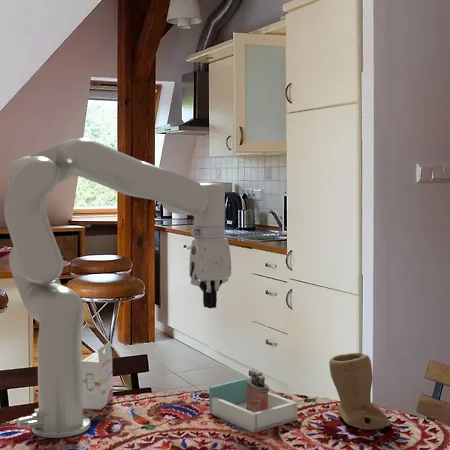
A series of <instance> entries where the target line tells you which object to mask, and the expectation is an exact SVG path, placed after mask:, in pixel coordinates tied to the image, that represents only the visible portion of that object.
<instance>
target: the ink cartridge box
mask: <svg viewBox="0 0 450 450" xmlns="http://www.w3.org/2000/svg"><path fill="white" fill-rule="evenodd" d="M105 350H106V351H105ZM104 351H105V352H104ZM112 352H113V351H112V342H111V341H109V342H107V343H105V344H103V346H101V347H100V348H98V349H97V352H93V353H91V354H90V355H89V356H87V357H86V358H84V359H82V379H83V410H85V409H86V410H102V409H103V408H105V406H107V405H108V404H109V403H110V402H111V401H112V400H113V399H114V386H113V385H114V384H113V383H114V380H113V379H114V378H113V376H114V375H113V353H112Z"/></svg>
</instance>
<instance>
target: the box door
mask: <svg viewBox="0 0 450 450" xmlns="http://www.w3.org/2000/svg"><path fill="white" fill-rule="evenodd" d="M247 379H252V377H250V376H247V377H244V378H240V379H237V380H236V379H234V380H231V381H228V382H224V383H219V384H215V385H211V386H209V387H208V389H209V394H208V395H209V397H208V398H209V413H210V414H212V397H218V398H220V399H222V400H225V401H227V402H229V403H232V404H234V405H237V404H241V403H245V402H247V385H246V380H247Z"/></svg>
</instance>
